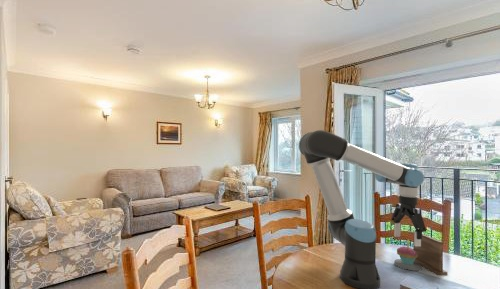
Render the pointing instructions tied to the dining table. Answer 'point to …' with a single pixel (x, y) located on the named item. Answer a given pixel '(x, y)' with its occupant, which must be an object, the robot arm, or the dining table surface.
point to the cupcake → (407, 254)
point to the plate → (410, 267)
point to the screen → (430, 254)
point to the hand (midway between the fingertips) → (406, 241)
